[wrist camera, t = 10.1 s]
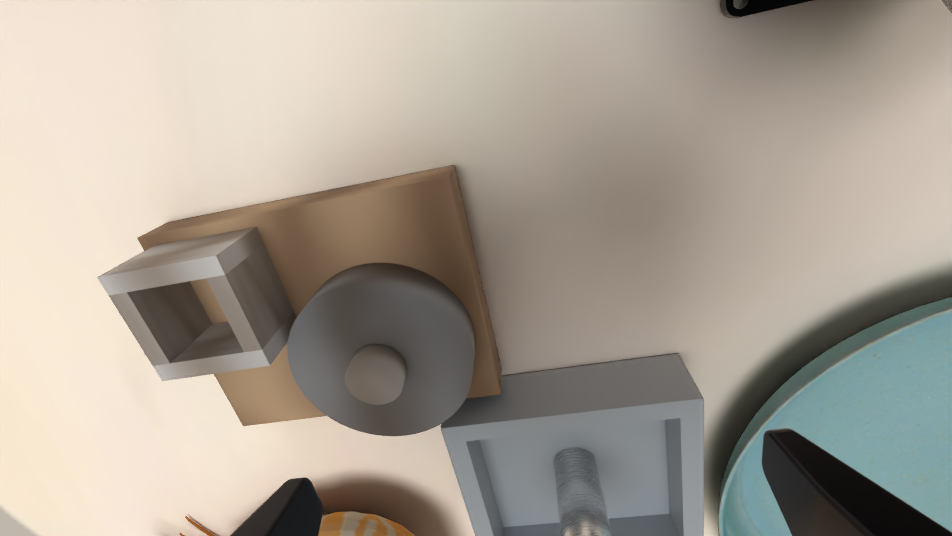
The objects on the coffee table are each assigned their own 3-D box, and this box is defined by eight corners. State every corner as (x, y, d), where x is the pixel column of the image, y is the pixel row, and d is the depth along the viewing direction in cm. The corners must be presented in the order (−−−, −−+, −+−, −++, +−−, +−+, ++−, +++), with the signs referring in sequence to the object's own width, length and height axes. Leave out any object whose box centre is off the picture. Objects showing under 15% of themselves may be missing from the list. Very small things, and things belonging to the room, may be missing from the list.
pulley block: (454, 165, 19) (438, 199, 15) (501, 368, 24) (500, 441, 20) (168, 222, 21) (78, 267, 17) (261, 400, 26) (210, 473, 22)
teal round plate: (1229, 492, 25) (1327, 552, 22) (791, 620, 33) (819, 677, 30) (1171, 135, 18) (1307, 152, 15) (618, 407, 25) (633, 455, 22)
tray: (678, 353, 23) (703, 398, 20) (682, 511, 28) (703, 566, 25) (448, 382, 25) (440, 428, 22) (491, 526, 30) (489, 579, 27)
